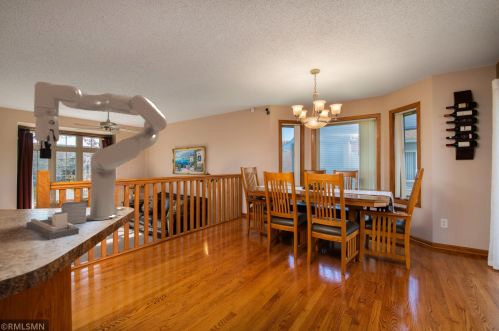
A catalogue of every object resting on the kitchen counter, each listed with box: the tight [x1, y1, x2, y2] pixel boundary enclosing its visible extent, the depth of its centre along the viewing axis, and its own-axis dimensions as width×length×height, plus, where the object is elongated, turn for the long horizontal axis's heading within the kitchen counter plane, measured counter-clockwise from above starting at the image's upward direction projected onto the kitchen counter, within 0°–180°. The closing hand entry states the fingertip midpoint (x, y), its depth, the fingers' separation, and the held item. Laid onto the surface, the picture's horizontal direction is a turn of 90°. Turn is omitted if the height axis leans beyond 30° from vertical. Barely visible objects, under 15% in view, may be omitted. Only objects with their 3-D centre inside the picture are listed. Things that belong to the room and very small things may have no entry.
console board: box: [25, 216, 80, 240], centre depth 84 cm, size 8×24×3 cm, turn 58°
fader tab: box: [51, 211, 67, 230], centre depth 80 cm, size 3×3×6 cm
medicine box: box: [60, 201, 87, 225], centre depth 94 cm, size 8×4×9 cm, turn 135°
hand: (45, 158), depth 93 cm, fingers closed
